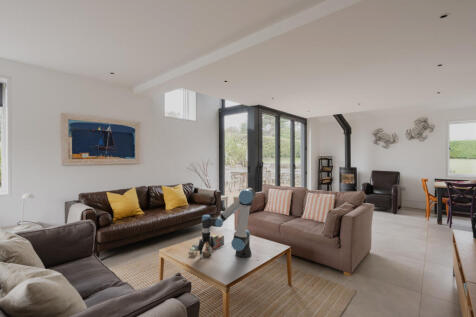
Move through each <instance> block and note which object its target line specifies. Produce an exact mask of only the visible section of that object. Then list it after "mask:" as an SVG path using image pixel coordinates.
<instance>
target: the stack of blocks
mask: <svg viewBox="0 0 476 317" xmlns="http://www.w3.org/2000/svg"><path fill="white" fill-rule="evenodd" d="M210 236H213V242H214V246H213V247H212V251H213V250H215V249H217V248H220V247H222V246H223V245H225V236H224V235H223V234H214V233H213V234H210ZM209 240H210V239H209ZM210 242H211V240H210ZM209 247H210V245H209V243H208V242H206V243H205V251H209Z"/></svg>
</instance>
